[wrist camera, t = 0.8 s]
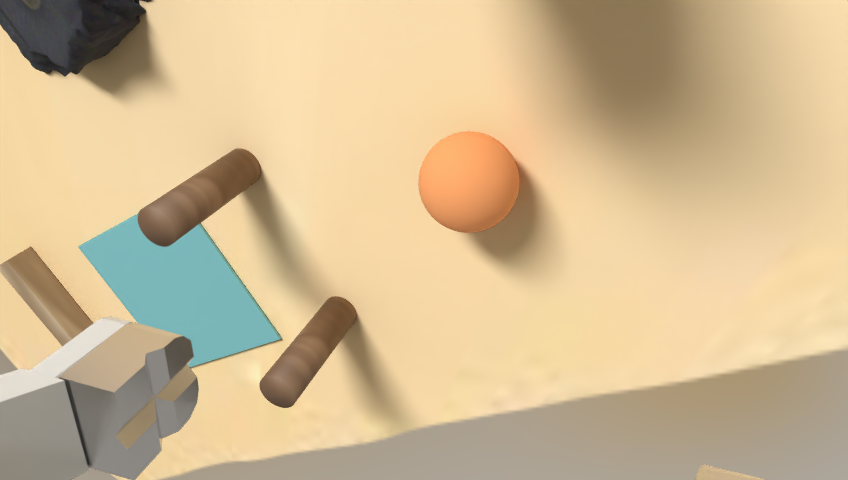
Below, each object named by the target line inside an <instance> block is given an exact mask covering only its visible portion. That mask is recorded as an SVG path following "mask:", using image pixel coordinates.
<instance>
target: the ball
mask: <svg viewBox="0 0 848 480" xmlns="http://www.w3.org/2000/svg"><path fill="white" fill-rule="evenodd" d="M419 191H420V196H421V199H422V202H423V204H424V206H425V208H426V209H427V211H428V212H429V214H430V215H431V216H432V217H433V218H434V219H435V220H436V221H437V222H439V223H440V224H441V225H443V226H445V227H447V228H449V229H452V230H455V231H458V232H465V233H472V232H479V231H483V230H486V229H488V228H491V227H493V226H495V225H496V224H498V223H499V222H500V221H501V220H503V219H504V218H505V217H506V216H507V215H508V213H509V212H510V210H511V209H512V207H513V206H514V204H515V201H516V199H517V196H518V192H519V172H518V168H517V165H516V162H515V160H514V158H513V156H512V155H511V153H510V152H509V150H508V149H507V148H506V147H505V146H504V145H503V144H502V143H500V142H499V141H498V140H496V139H495V138H493V137H491V136H489V135H486V134H483V133H479V132H460V133H456V134H453V135H450V136H448V137H446V138H444V139H442V140H441V141H439V142H438V143H437V144H436V145H435V146H434V147H433V148H432V149H431V150H430V151H429V153H428V154H427V155H426V157H425V159H424V161H423V163H422V166H421V169H420V173H419Z"/></svg>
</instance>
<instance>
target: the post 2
mask: <svg viewBox="0 0 848 480" xmlns="http://www.w3.org/2000/svg"><path fill="white" fill-rule="evenodd" d="M355 320H356V311H355V309H354V307H353V306H352V304H351V303H350V302H348V301H347V300H346V299H344V298H341V297H331V298H329V299H328V300H327V301H326V302H325V303H324V305H323V306H322V307H321V308H320V309H319V311H318V312H317V313H316V314H315V315H314V317H313V318H312V319H311V320H310V322H309V323H308V324H307V325H306V326H305V328H304V329H303V330H302V331H301V332H300V334H299V335H298V336H297V337H296V338H295V340H294V341H293V342H292V343H291V344H290V346H289V347H288V348H287V349H286V350H285V352H284V353H283V354H282V355H281V357H280V358H279V359H278V360H277V361H276V363H275V364H274V365H273V366H272V367H271V369H270V370H269V371H268V372H267V373H266V375H265V376H264V377H263V378H262V380H261V381H260V390H261V392H262V394H263V395H264V397H265V398H266V399H267V400H268V401H270V402H271V403H272V404H274V405H276V406H279V407H282V408H288V407H291V406H293V405H294V403H295V402H296V401H297V399H298V398H299V397H300V395H301V394H302V392H303V391H304V390H305V388H306V387H307V386H308V384H309V383H310V382H311V380H312V379H313V377H314V376H315V375H316V373H317V372H318V371H319V369H320V368H321V367H322V365H323V364H324V362H325V361H326V360H327V358H328V357H329V356H330V354H331V353H332V352H333V350H334V349H335V347H336V346H337V345H338V343H339V342H340V341H341V339H342V338H343V337H344V335H345V334H346V332H347V331H348V330H349V328H350V327H351V326H352V324H353V323H354V322H355Z"/></svg>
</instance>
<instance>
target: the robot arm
mask: <svg viewBox="0 0 848 480" xmlns="http://www.w3.org/2000/svg"><path fill="white" fill-rule="evenodd" d="M193 357H194V354H193V349H192V344H191V340H189V339H188V338H186V337H185V336H182V335H179V334H175V333H172V332H168V331H164V330H161V329H157V328H154V327H150V326H146V325H143V324H139V323H136V322H135V323H133V322H129V321H126V320H122V319H119V318H115V317H112V316H110V317H105V318H100V319H99V320H98V321H96V322H95V323H94V324H92V325H91V326H89V327H88V328H87V329H85V330H84V331H83V332H81V333H80V334H79V335H77V336H76V337H75V338H73V339H72V340H70V341H69V342H68V343H66V344H65V345H64V346H62V347H61V348H60V349H58V350H57V351H56V352H54V353H53V354H51V355H50V356H49V357H47V358H46V359H45V360H43V361H42V362H41V363H39V364H38V365H37V366H35V367H34V368H32V369H31V370H26V369H19V370H15V371H12V372H9V373H6V374H3V375H0V480H72V479H74V478H76V477H78V476H79V475H81V474H83V473H85V472H87V471H88V468H92V469H95V470H99V471H103V472H106V473H110V474H113V475H117V476H120V477H124V478H127V479H131V480H135V479H136V478H137V477H138V476H139V475H140V474H141V473H142V471H143V470H144V469H145V468H146V467H147V466H148V465H149V464H150V463H151V462H152V460H153V459H154V458H155V457H156V456H157V455H158V454H159V453H160V452H161V450H162V438H164V437H167V436H169V435H171V434H174V433H176V432H178V431H179V430H180V429H181V428H182V427H183V426H184V425H185V423H186V422H187V421H188V420H189V419H190V417H191V414H192V412H193V410H194V408H195V406H196V403H197V398H198V390H199V388H198V380H197V376H196V375H195V374H194V372H193V371H192V370H191V368H190V367H189V366H188V364H189V362H190V361H191V360H192V358H193ZM695 480H766V479H761V478H757V477H753V476H749V475H745V474H741V473H736V472H732V471H728V470H724V469H720V468H716V467H711V466H707V465H702V466H701V467H700V469H699V470H698V473H697V475H696V478H695Z"/></svg>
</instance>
